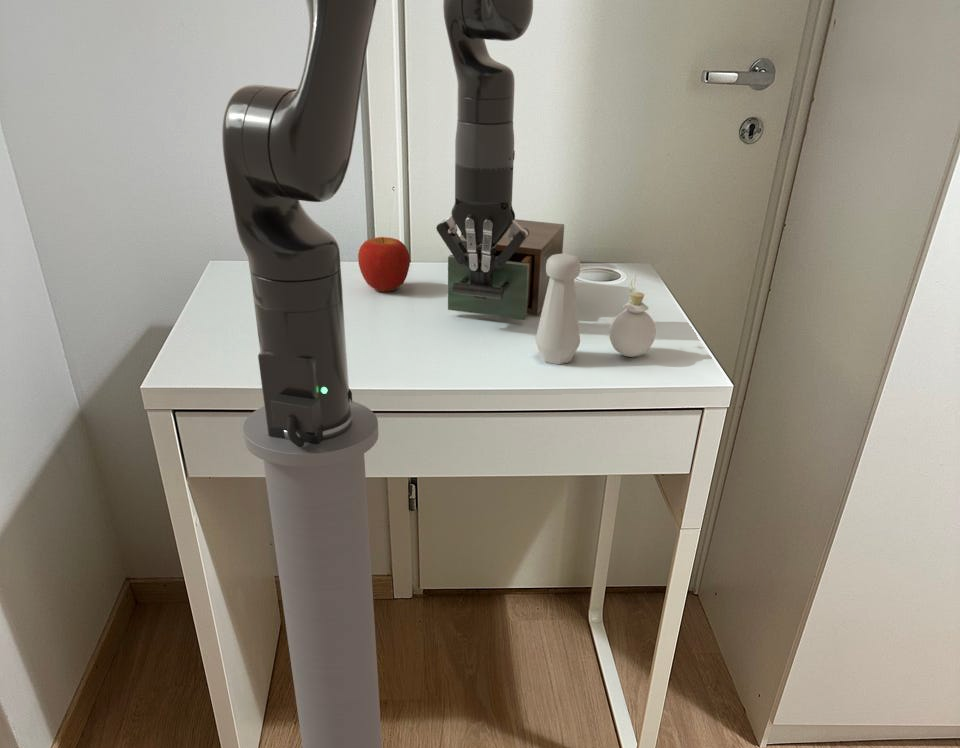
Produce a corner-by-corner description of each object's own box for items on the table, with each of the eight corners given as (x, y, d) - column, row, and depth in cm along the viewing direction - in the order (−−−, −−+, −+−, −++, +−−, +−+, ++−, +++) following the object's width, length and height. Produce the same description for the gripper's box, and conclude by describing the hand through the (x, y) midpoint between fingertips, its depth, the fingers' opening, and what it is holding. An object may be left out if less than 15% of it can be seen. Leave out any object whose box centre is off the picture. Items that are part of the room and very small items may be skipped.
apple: (412, 296, 140) (410, 242, 135) (360, 297, 139) (357, 243, 134) (408, 280, 146) (407, 229, 141) (359, 281, 145) (356, 229, 140)
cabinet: (537, 315, 134) (541, 249, 128) (454, 305, 137) (455, 239, 131) (559, 286, 145) (564, 224, 140) (483, 277, 148) (484, 216, 142)
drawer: (515, 331, 126) (518, 275, 122) (436, 320, 129) (436, 266, 124) (547, 291, 140) (550, 240, 136) (475, 283, 143) (476, 232, 138)
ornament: (612, 364, 120) (621, 286, 114) (601, 343, 126) (609, 268, 120) (657, 363, 120) (668, 285, 114) (643, 343, 126) (654, 268, 120)
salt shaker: (586, 362, 120) (596, 259, 112) (550, 369, 118) (558, 265, 110) (561, 347, 124) (569, 247, 116) (526, 354, 122) (532, 253, 114)
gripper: (425, 160, 115) (427, 299, 126) (526, 169, 112) (519, 311, 123) (444, 150, 121) (445, 284, 132) (541, 158, 118) (533, 294, 129)
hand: (481, 297), depth 127 cm, fingers closed
